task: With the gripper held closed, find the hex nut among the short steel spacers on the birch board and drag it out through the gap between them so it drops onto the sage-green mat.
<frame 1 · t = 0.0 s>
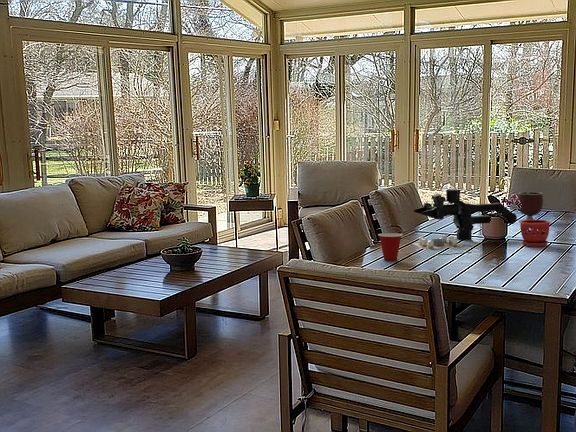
hand: (417, 212, 319), 17 cm above the table, tool horizontal, fingers open, 9 cm apart
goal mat: (448, 252, 301), on the table
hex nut: (437, 245, 313), point 1 cm above the table, touching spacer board
plant pot: (534, 245, 311), on the table
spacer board: (437, 247, 313), on the table
steel spacers: (437, 241, 312), on the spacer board, point 3 cm above the table
mate gourd: (529, 222, 377), on the table
plastic cup: (390, 260, 290), on the table
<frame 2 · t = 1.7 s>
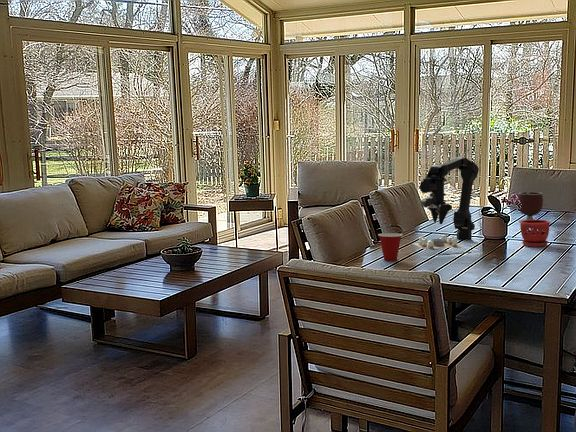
hand: (437, 223, 311), 12 cm above the table, tool pointing down, fingers open, 6 cm apart
nothing on the table moved.
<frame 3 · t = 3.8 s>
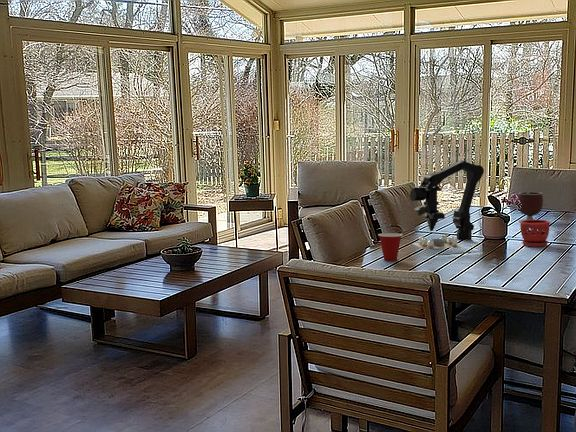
hand: (431, 230, 320), 7 cm above the table, tool pointing down, fingers closed
nothing on the table moved.
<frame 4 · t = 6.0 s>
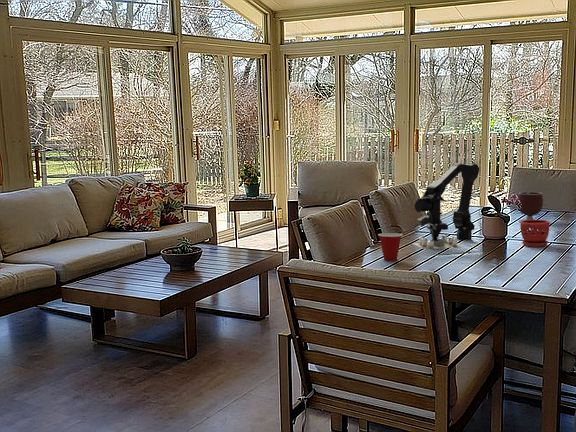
hand: (434, 241, 316), 2 cm above the table, tool pointing down, fingers closed
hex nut: (437, 245, 313), point 1 cm above the table, touching gripper, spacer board
everything else where it was.
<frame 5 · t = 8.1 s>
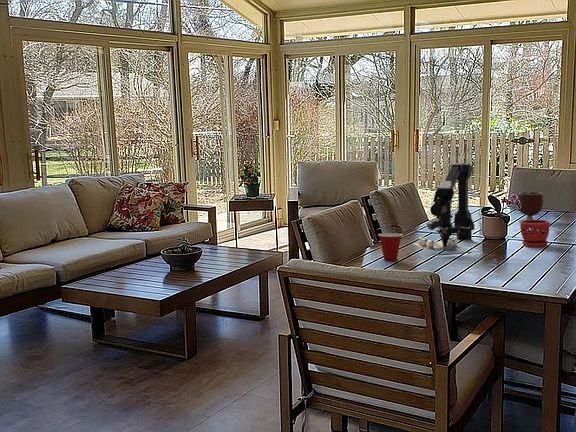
hand: (444, 245, 305), 2 cm above the table, tool pointing down, fingers closed
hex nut: (449, 250, 302), resting on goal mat, touching gripper
everything else where it was.
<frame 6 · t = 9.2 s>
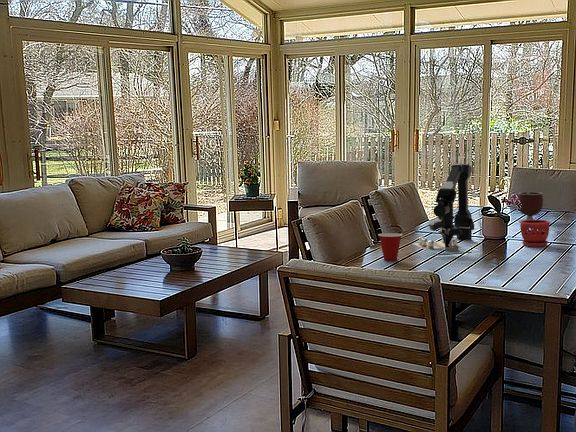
hand: (446, 246, 303), 2 cm above the table, tool pointing down, fingers closed
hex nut: (451, 251, 300), resting on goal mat, touching gripper
everything else where it was.
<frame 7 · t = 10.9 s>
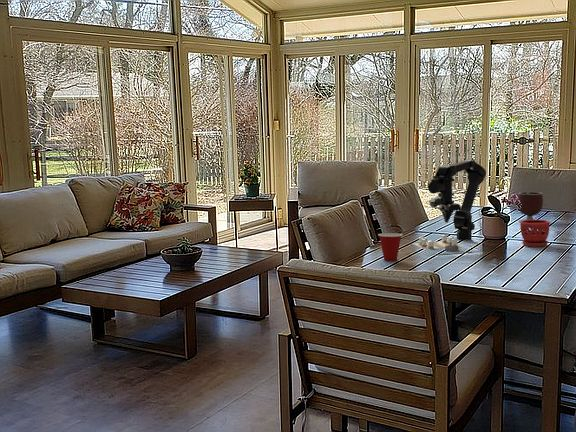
hand: (446, 222, 316), 11 cm above the table, tool pointing down, fingers closed
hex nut: (451, 251, 300), resting on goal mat
everything else where it was.
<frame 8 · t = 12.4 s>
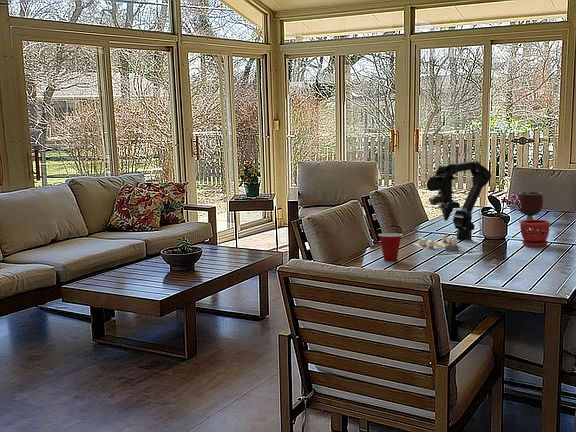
hand: (445, 220, 318), 12 cm above the table, tool pointing down, fingers closed
nothing on the table moved.
at the end: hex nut inside the target area (0.9 cm from its centre), resting on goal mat; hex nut tilted 0° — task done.
